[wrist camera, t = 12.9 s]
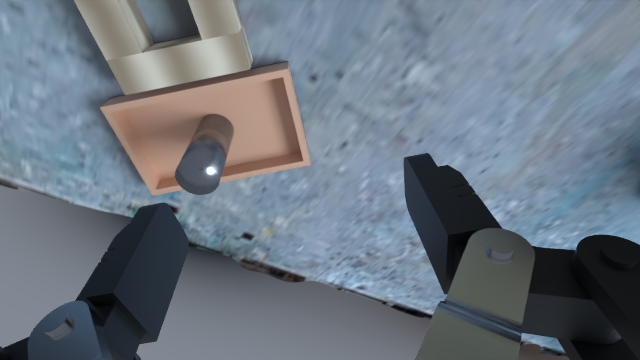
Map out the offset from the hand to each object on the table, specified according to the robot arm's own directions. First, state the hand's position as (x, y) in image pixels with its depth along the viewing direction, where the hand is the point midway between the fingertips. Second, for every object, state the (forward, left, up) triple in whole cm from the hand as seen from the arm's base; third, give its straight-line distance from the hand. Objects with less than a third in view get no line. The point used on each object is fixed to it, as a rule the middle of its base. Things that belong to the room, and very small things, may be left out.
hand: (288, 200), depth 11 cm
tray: (+12, +10, -32) cm, 36 cm away
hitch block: (+12, -4, -32) cm, 34 cm away
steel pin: (+12, +10, -31) cm, 35 cm away
